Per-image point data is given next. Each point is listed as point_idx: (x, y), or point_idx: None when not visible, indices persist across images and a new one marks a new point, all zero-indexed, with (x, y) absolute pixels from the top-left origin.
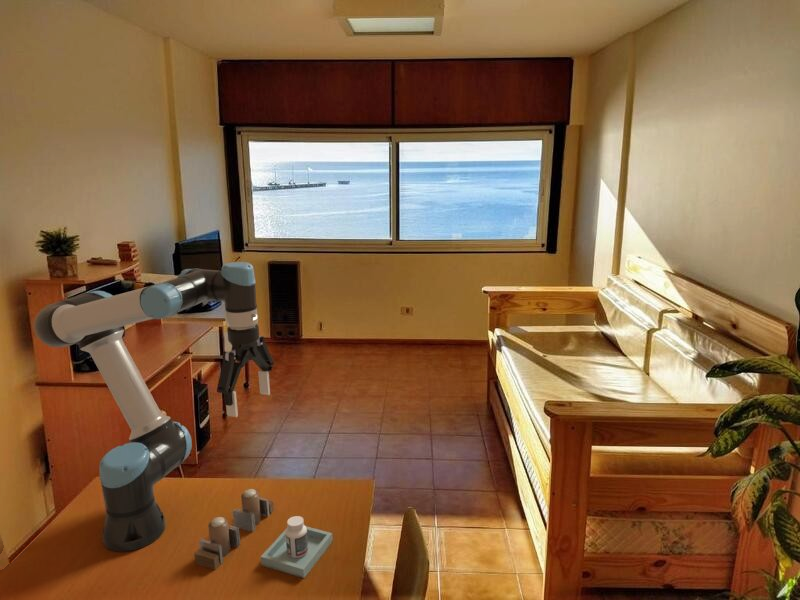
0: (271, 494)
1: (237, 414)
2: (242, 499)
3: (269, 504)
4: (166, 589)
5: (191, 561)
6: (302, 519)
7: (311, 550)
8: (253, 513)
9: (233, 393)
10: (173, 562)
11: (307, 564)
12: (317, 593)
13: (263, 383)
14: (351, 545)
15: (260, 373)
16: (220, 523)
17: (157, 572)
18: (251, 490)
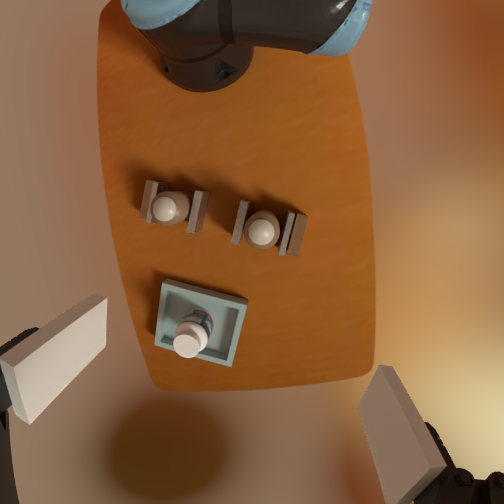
0: (343, 230)
1: (99, 348)
2: (247, 220)
3: (287, 252)
4: (107, 169)
5: (156, 171)
6: (192, 356)
7: None
8: (237, 243)
9: (17, 409)
10: (151, 146)
11: (164, 347)
12: (143, 356)
13: (384, 432)
14: (230, 381)
15: (414, 467)
16: (158, 217)
17: (132, 137)
18: (269, 233)
